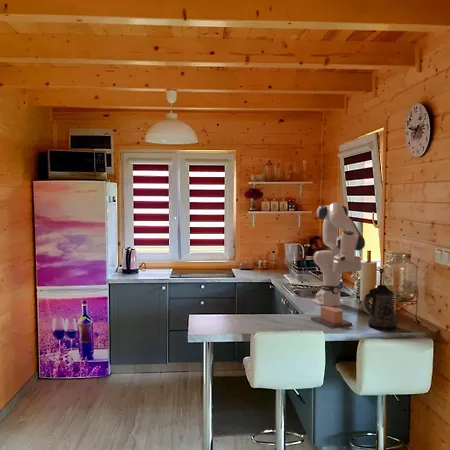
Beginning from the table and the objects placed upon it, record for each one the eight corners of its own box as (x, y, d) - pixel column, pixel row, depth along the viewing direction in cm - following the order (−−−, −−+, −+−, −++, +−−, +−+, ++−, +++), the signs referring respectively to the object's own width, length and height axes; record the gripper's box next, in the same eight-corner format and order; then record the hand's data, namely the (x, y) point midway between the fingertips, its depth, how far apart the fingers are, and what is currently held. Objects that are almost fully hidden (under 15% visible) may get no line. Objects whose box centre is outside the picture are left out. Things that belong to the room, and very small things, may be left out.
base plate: (310, 319, 292) (311, 311, 292) (332, 317, 298) (332, 309, 298) (330, 328, 274) (330, 319, 273) (352, 325, 280) (352, 317, 280)
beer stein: (402, 327, 276) (403, 286, 275) (385, 333, 263) (386, 290, 262) (376, 322, 289) (378, 282, 287) (359, 327, 276) (360, 285, 274)
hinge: (380, 316, 303) (375, 302, 302) (373, 319, 303) (368, 304, 302) (370, 310, 320) (365, 296, 319) (363, 312, 319) (359, 299, 319)
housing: (320, 317, 291) (320, 306, 291) (328, 317, 294) (328, 306, 293) (334, 323, 278) (334, 311, 278) (342, 322, 281) (342, 311, 280)
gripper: (357, 255, 302) (356, 276, 303) (331, 256, 294) (330, 278, 295) (364, 256, 296) (363, 278, 297) (337, 258, 288) (336, 280, 290)
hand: (346, 278), depth 296 cm, fingers open, 8 cm apart
